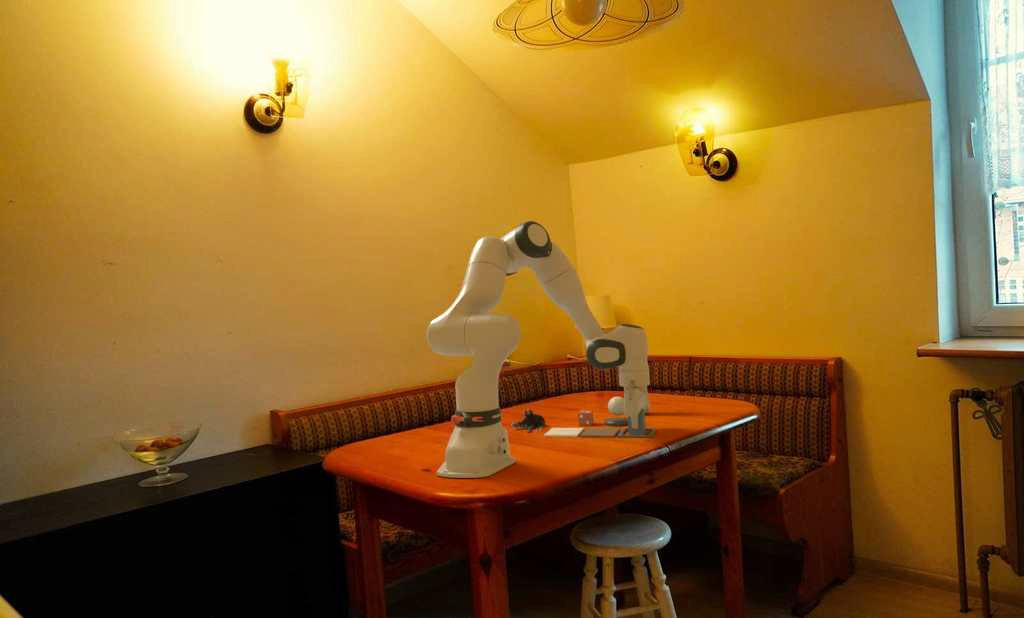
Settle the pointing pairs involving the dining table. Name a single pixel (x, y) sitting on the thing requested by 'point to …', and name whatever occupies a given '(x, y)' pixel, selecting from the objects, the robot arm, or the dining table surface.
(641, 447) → the dining table surface
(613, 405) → the white ball
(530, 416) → the stuffed animal
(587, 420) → the die
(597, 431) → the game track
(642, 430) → the pawn
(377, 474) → the dining table surface
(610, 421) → the base
